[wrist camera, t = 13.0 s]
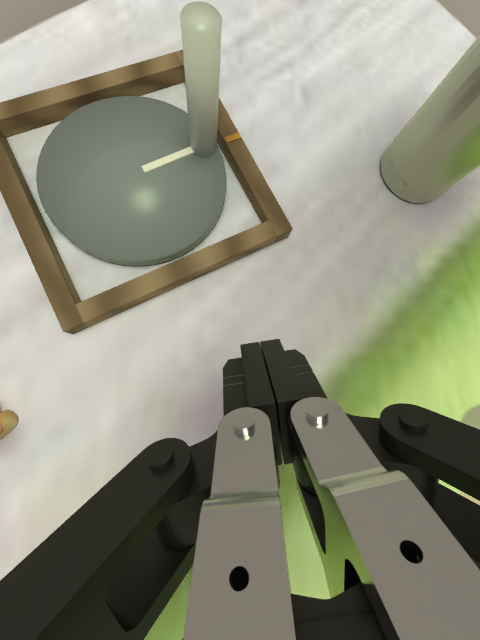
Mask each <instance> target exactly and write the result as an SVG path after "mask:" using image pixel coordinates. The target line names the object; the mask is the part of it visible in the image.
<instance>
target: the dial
mask: <svg viewBox="0 0 480 640" xmlns="http://www.w3.org/2000/svg"><path fill="white" fill-rule="evenodd" d="M180 17H181V30H182V43H183V56H184V69H185V82H186V95H187V108H188V113H186V112H185V111H183V110H181V109H179V108H177V107H175V106H173V105H171V104H168V103H166V102H163V101H160V100H156V99H152V98H146V97H139V96H120V97H112V98H106V99H102V100H99V101H96V102H92V103H90V104H88V105H85V106H83V107H81V108H79V109H78V110H76V111H74V112H73V113H71V114H70V115H68V116H67V117H66V118H65V119H63V120H62V121H61V122H60V123H59V124H58V125H57V126H56V127H55V128H54V130H53V131H52V132H51V134H50V135H49V136H48V138H47V140H46V142H45V144H44V145H43V147H42V150H41V153H40V156H39V159H38V165H37V178H36V180H37V188H38V193H39V197H40V200H41V203H42V205H43V207H44V209H45V212H46V213H47V215H48V216H49V218H50V219H51V221H52V223H53V224H54V225H55V226H56V227H57V228H58V229H59V230H60V232H61V233H62V234H64V235H65V236H66V237H67V238H68V239H69V240H70V241H71V242H72V243H74V244H75V245H76V246H77V247H79V248H80V249H82V250H83V251H85V252H86V253H88V254H90V255H92V256H94V257H96V258H98V259H101V260H104V261H107V262H110V263H115V264H120V265H129V266H147V265H153V264H159V263H163V262H166V261H170V260H172V259H175V258H177V257H179V256H182V255H183V254H185V253H187V252H188V251H190V250H192V249H193V248H194V247H196V246H197V245H198V244H199V243H201V242H202V241H203V240H204V238H205V237H206V236H207V235H208V234H209V233H210V231H211V230H212V229H213V227H214V226H215V224H216V222H217V220H218V218H219V216H220V213H221V211H222V208H223V203H224V198H225V189H226V173H225V166H224V162H223V158H222V155H221V153H220V150H219V148H218V146H217V125H218V100H219V76H220V51H221V27H222V18H221V15H220V13H219V12H218V10H217V9H216V8H215V7H213V6H212V5H210V4H208V3H205V2H192V3H189V4H187V5H186V6H184V8H183V9H182V11H181V15H180Z"/></svg>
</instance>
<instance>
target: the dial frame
mask: <svg viewBox="0 0 480 640" xmlns="http://www.w3.org/2000/svg"><path fill="white" fill-rule="evenodd" d="M182 82H185V69H184V56H183V50H180V51H177V52H174V53H170V54H167V55H163V56H160V57H156V58H153V59H149V60H146V61H142V62H139V63H136V64H132V65H129V66H125V67H122V68H118V69H115V70H111V71H108V72H104V73H101V74H98V75H94V76H91V77H87V78H84V79H80V80H77V81H73V82H70V83H66V84H63V85H60V86H56V87H53V88H49V89H46V90H42V91H39V92H35V93H32V94H28V95H25V96H22V97H18V98H15V99H11V100H8V101H4V102H1V103H0V191H1V193H2V196H3V198H4V200H5V202H6V204H7V207H8V209H9V211H10V213H11V216H12V218H13V220H14V222H15V225H16V227H17V229H18V231H19V234H20V236H21V238H22V240H23V243H24V245H25V247H26V249H27V251H28V254H29V256H30V258H31V260H32V263H33V265H34V267H35V269H36V272H37V274H38V276H39V278H40V281H41V283H42V285H43V287H44V290H45V292H46V294H47V296H48V298H49V301H50V303H51V305H52V307H53V310H54V312H55V314H56V316H57V319H58V321H59V323H60V325H61V328H62V330H63V332H67V333H71V334H74V333H77V332H79V331H81V330H83V329H85V328H88V327H90V326H92V325H94V324H96V323H99V322H101V321H103V320H105V319H107V318H110V317H112V316H114V315H116V314H118V313H121V312H123V311H125V310H127V309H130V308H132V307H134V306H136V305H138V304H141V303H143V302H145V301H147V300H149V299H152V298H154V297H156V296H158V295H160V294H163V293H165V292H167V291H169V290H171V289H174V288H176V287H178V286H180V285H183V284H185V283H187V282H189V281H191V280H194V279H196V278H198V277H200V276H202V275H205V274H207V273H209V272H211V271H213V270H216V269H218V268H220V267H222V266H224V265H227V264H229V263H231V262H233V261H236V260H238V259H240V258H242V257H244V256H247V255H249V254H251V253H253V252H255V251H258V250H260V249H262V248H264V247H266V246H269V245H271V244H273V243H275V242H277V241H280V240H282V239H284V238H286V237H288V235H289V234H290V232H291V231H292V227H291V225H290V223H289V221H288V220H287V218H286V216H285V214H284V213H283V211H282V209H281V207H280V205H279V204H278V202H277V200H276V198H275V197H274V195H273V193H272V191H271V189H270V188H269V186H268V184H267V182H266V181H265V179H264V177H263V175H262V173H261V172H260V170H259V168H258V166H257V165H256V163H255V161H254V159H253V157H252V156H251V154H250V152H249V150H248V149H247V147H246V145H245V143H244V141H243V140H242V138H241V136H240V134H239V132H238V131H237V129H236V127H235V125H234V124H233V122H232V120H231V118H230V117H229V115H228V113H227V111H226V109H225V108H224V106H223V104H222V102H221V101H220V99H219V100H218V125H217V142H218V144H219V146H220V148H221V149H222V151H223V153H224V155H225V157H226V159H227V160H228V162H229V164H230V166H231V168H232V169H233V171H234V173H235V175H236V177H237V179H238V180H239V182H240V184H241V186H242V188H243V189H244V191H245V193H246V195H247V197H248V198H249V200H250V202H251V204H252V206H253V208H254V209H255V211H256V213H257V215H258V217H259V218H260V220H261V222H262V224H259V225H257V226H255V227H252V228H250V229H248V230H246V231H243V232H241V233H239V234H236V235H234V236H232V237H229V238H227V239H225V240H223V241H220V242H218V243H216V244H213V245H211V246H209V247H206V248H204V249H202V250H199V251H197V252H195V253H193V254H190V255H188V256H186V257H183V258H181V259H179V260H176V261H174V262H172V263H170V264H167V265H165V266H163V267H160V268H158V269H156V270H153V271H151V272H149V273H147V274H144V275H142V276H140V277H137V278H135V279H133V280H130V281H128V282H126V283H124V284H121V285H119V286H117V287H114V288H112V289H110V290H107V291H105V292H103V293H100V294H98V295H96V296H94V297H91V298H89V299H87V300H84V301H82V302H81V300H80V298H79V296H78V294H77V292H76V290H75V287H74V285H73V283H72V281H71V279H70V277H69V274H68V272H67V270H66V268H65V266H64V263H63V261H62V259H61V257H60V255H59V253H58V250H57V248H56V246H55V244H54V242H53V240H52V237H51V235H50V233H49V231H48V229H47V226H46V224H45V222H44V220H43V218H42V216H41V213H40V211H39V209H38V207H37V205H36V203H35V200H34V198H33V196H32V194H31V192H30V189H29V187H28V185H27V183H26V181H25V179H24V176H23V174H22V172H21V170H20V168H19V166H18V163H17V161H16V159H15V157H14V155H13V152H12V150H11V148H10V146H9V144H8V142H7V139H6V137H9V136H12V135H15V134H18V133H22V132H25V131H28V130H31V129H34V128H38V127H41V126H44V125H47V124H50V123H54V122H57V121H60V120H63V119H65V118H66V117H67V116H68V115H70V114H71V113H73V112H74V111H76V110H78V109H79V108H81V107H83V106H85V105H88V104H90V103H92V102H96V101H99V100H102V99H106V98H112V97H120V96H140V95H143V94H147V93H150V92H153V91H156V90H159V89H163V88H166V87H169V86H172V85H175V84H179V83H182ZM185 84H186V82H185Z"/></svg>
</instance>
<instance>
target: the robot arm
mask: <svg viewBox="0 0 480 640" xmlns="http://www.w3.org/2000/svg"><path fill="white" fill-rule="evenodd" d="M478 166H480V35H479V37H478V38H477V39H476V40H475V41H474V43H473V44H472V45H471V46H470V48H469V49H468V50H467V51H466V52H465V54H464V55H463V56H462V57H461V59H460V60H459V61H458V62H457V63H456V65H455V66H454V67H453V68H452V70H451V71H450V72H449V73H448V74H447V76H446V77H445V78H444V79H443V81H442V82H441V83H440V84H439V85H438V87H437V88H436V89H435V90H434V92H433V93H432V94H431V95H430V97H429V98H428V99H427V100H426V101H425V103H424V104H423V105H422V106H421V108H420V109H419V110H418V111H417V112H416V114H415V115H414V116H413V117H412V119H411V120H410V121H409V122H408V123H407V125H406V126H405V127H404V128H403V130H402V131H401V132H400V133H399V134H398V136H397V137H396V138H395V139H394V141H393V142H392V143H391V144H390V146H389V147H388V148H387V149H386V151H385V152H384V154H383V156H382V158H381V173H382V177H383V179H384V181H385V183H386V185H387V186H388V187H389V189H390V190H391V191H392V192H393V193H394V194H395V195H397V196H398V197H400V198H401V199H404V200H406V201H408V202H413V203H426V202H429V201H432V200H434V199H435V198H437V197H438V196H439V195H441V194H442V193H443V192H445V191H446V190H447V189H449V188H450V187H451V186H453V185H454V184H455V183H457V182H458V181H459V180H461V179H462V178H464V177H465V176H466V175H468V174H469V173H470V172H472V171H473V170H474V169H476V168H477V167H478ZM240 346H241V354H242V358H236V359H229V360H228V361H227V363H226V364H225V366H224V367H223V386H224V387H223V402H224V417H223V418H222V420H221V421H220V423H219V426H218V430H217V431H216V433H214V434H213V435H212V436H211V437H209V438H208V439H206V440H204V441H202V442H199V443H197V444H195V445H193V446H190V447H189V446H188V445H187V444H186V442H184V441H183V440H180V439H177V438H166V439H162V440H159V441H157V442H155V443H153V444H151V445H149V446H148V447H147V448H145V449H144V450H143V451H142V452H141V453H140V454H139V455H138V456H136V457H135V458H134V459H133V460H132V461H131V462H130V463H129V464H128V465H127V466H126V467H124V468H123V469H122V470H121V471H120V472H119V473H118V474H117V475H116V476H115V477H113V478H112V479H111V480H110V481H109V482H108V483H107V484H106V485H105V486H104V487H103V488H101V489H100V490H99V491H98V492H97V493H96V494H95V495H94V496H93V497H92V498H90V499H89V500H88V501H87V502H86V503H85V504H84V505H83V506H82V507H81V508H80V509H78V510H77V511H76V512H75V513H74V514H73V515H72V516H71V517H70V518H69V519H67V520H66V521H65V522H64V523H63V524H62V525H61V526H60V527H59V528H58V529H56V530H55V531H54V532H53V533H52V534H51V535H50V536H49V537H48V538H47V539H46V540H44V541H43V542H42V543H41V544H40V545H39V546H38V547H37V548H36V549H35V550H33V551H32V552H31V553H30V554H29V555H28V556H27V557H26V558H25V559H24V560H23V561H21V562H20V563H19V564H18V565H17V566H16V567H15V568H14V569H13V570H12V571H10V572H9V573H8V574H7V575H6V576H5V577H4V578H3V579H2V580H1V581H0V640H144V638H145V636H146V635H147V633H148V632H149V630H150V629H151V627H152V626H153V624H154V623H155V621H156V620H157V618H158V617H159V615H160V614H161V612H162V611H163V609H164V608H165V606H166V605H167V603H168V602H169V600H170V598H171V597H172V595H173V594H174V592H175V591H176V589H177V588H178V586H179V585H180V583H181V582H182V580H183V579H184V577H185V576H186V574H187V573H188V571H189V570H190V568H191V567H192V565H193V571H192V578H191V585H190V593H189V600H188V607H187V615H186V622H185V629H184V637H183V639H182V640H480V505H478V504H476V503H474V502H472V501H470V500H468V499H467V498H465V497H463V496H461V495H459V494H457V493H456V492H454V491H452V490H450V489H448V488H446V487H445V486H443V485H441V484H439V483H438V481H439V479H440V480H442V481H444V482H445V483H447V484H449V485H451V486H453V487H455V488H457V489H459V490H460V491H462V492H464V493H466V494H468V495H470V496H472V497H474V498H475V499H477V500H479V501H480V430H479V429H477V428H474V427H471V426H469V425H466V424H464V423H461V422H459V421H456V420H453V419H451V418H448V417H446V416H443V415H441V414H438V413H436V412H433V411H430V410H428V409H425V408H423V407H420V406H416V405H412V404H393V405H390V406H388V407H386V408H385V409H384V410H383V411H382V412H381V415H380V418H370V417H359V416H353V415H349V414H347V413H345V412H344V411H343V409H342V408H341V407H340V406H339V405H338V404H337V403H335V402H333V401H331V400H329V399H328V398H327V397H326V395H325V393H324V391H323V389H322V387H321V386H320V384H319V382H318V380H317V378H316V376H315V374H314V373H313V371H312V369H311V367H310V366H309V363H308V361H307V360H306V358H305V356H304V355H303V354H301V353H300V352H298V351H297V350H295V349H294V350H287V351H284V349H283V347H282V344H281V342H280V340H279V339H275V340H268V341H261V342H260V344H259V342H255V343H249V344H242V345H240ZM260 347H261V348H260ZM280 448H281V450H280ZM281 452H282V456H283V461H284V464H288V463H293V467H294V471H295V474H296V486H297V490H298V493H299V496H300V499H301V502H302V505H303V508H304V511H305V514H306V516H307V519H308V522H309V525H310V528H311V531H312V534H313V537H314V539H315V542H316V545H317V548H318V551H319V554H320V557H321V560H322V563H323V567H324V570H325V575H326V580H327V584H328V589H329V593H330V596H331V599H326V600H324V599H317V598H311V597H306V596H300V595H295V594H291V589H290V580H289V572H288V564H287V556H286V547H285V539H284V531H283V522H282V514H281V506H280V497H279V487H280V478H279V470H278V465H282V459H281Z"/></svg>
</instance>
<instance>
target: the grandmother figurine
mask: <svg viewBox="0 0 480 640" xmlns="http://www.w3.org/2000/svg"><path fill="white" fill-rule="evenodd" d="M17 422H18V418H17V416H16V414H15V413H13V412H12V411H8V410H7V411H2V412H0V439H1V438H3V437H4V436H5V435H6V434H8V433H9V432H10V431H11V430H12V429H13V428H14V427H15V426H16V425H17Z"/></svg>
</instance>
